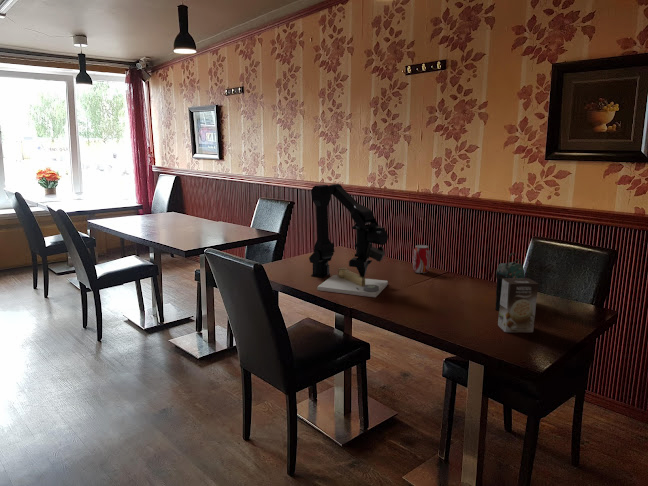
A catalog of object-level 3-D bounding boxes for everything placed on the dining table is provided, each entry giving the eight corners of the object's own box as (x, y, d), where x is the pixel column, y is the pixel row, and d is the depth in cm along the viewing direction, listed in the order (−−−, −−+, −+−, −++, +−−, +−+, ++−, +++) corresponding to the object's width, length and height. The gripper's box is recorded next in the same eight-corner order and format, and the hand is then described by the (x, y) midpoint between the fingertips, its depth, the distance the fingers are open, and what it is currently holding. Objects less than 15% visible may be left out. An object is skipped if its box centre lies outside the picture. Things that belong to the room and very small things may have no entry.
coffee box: (505, 333, 152) (509, 283, 149) (497, 325, 159) (501, 277, 155) (534, 332, 153) (538, 283, 149) (525, 324, 159) (529, 277, 155)
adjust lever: (336, 276, 207) (336, 268, 207) (344, 275, 209) (344, 267, 209) (359, 286, 193) (359, 278, 192) (367, 285, 195) (367, 276, 194)
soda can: (424, 275, 216) (425, 248, 213) (410, 272, 220) (411, 246, 217) (431, 271, 221) (432, 245, 219) (417, 269, 225) (418, 243, 223)
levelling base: (317, 290, 195) (317, 282, 194) (333, 278, 211) (333, 271, 210) (375, 297, 186) (375, 289, 185) (387, 284, 202) (387, 277, 201)
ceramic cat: (506, 314, 168) (511, 258, 164) (488, 310, 172) (492, 255, 168) (526, 300, 183) (531, 248, 179) (509, 296, 187) (513, 245, 183)
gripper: (376, 248, 183) (376, 287, 186) (388, 237, 200) (388, 274, 203) (348, 245, 187) (348, 284, 190) (362, 235, 204) (362, 271, 207)
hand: (362, 278), depth 198 cm, fingers closed
